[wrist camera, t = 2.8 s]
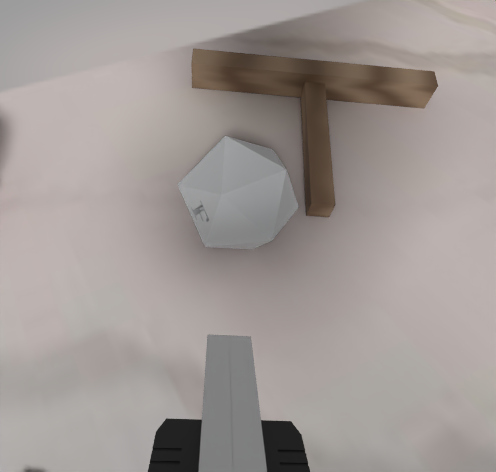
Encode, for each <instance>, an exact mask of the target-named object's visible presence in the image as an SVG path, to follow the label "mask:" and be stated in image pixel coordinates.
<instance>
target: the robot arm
mask: <svg viewBox="0 0 496 472" xmlns="http://www.w3.org/2000/svg"><path fill="white" fill-rule="evenodd" d="M148 472H310V469H309V466H308V461H307V457H306V453H305V448H304V444H303V440H302V436H301V434H300V433H299V431H298V430H297V429H296V427H295V426H294V425H293V423H292V422H291V421H263V420H261V417H260V409H259V401H258V392H257V384H256V376H255V368H254V359H253V351H252V343H251V337H249V336H227V335H208V337H207V352H206V367H205V382H204V397H203V412H202V420H193V419H166V420H165V421H164V422H163V424H162V425H161V426H160V428H159V429H158V430H157V431H156V435H155V440H154V445H153V451H152V454H151V459H150V464H149V469H148Z"/></svg>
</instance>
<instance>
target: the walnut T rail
mask: <svg viewBox="0 0 496 472" xmlns="http://www.w3.org/2000/svg"><path fill="white" fill-rule="evenodd" d="M437 87H438V84H437V80H436V76H435V72H433V71H423V70H412V69H402V68H391V67H381V66H370V65H360V64H349V63H339V62H328V61H318V60H307V59H297V58H286V57H276V56H265V55H255V54H244V53H234V52H223V51H213V50H202V49H193V55H192V88H201V89H213V90H224V91H235V92H246V93H258V94H269V95H280V96H291V97H301V113H302V135H303V156H304V178H305V199H306V216H320V217H329V216H330V214H331V212H332V210H333V208H334V206H335V196H334V184H333V173H332V161H331V149H330V137H329V125H328V114H327V102H326V100H336V101H348V102H359V103H370V104H382V105H393V106H404V107H415V108H425V106H426V104H427V103H428V101H429V100H430V98H431V96H432V95H433V93H434V92H435V90H436V88H437Z"/></svg>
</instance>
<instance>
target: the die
mask: <svg viewBox="0 0 496 472" xmlns="http://www.w3.org/2000/svg"><path fill="white" fill-rule="evenodd" d="M178 187H179V189H180V192H181V194H182V196H183V198H184V201H185V203H186V205H187V207H188V210H189V212H190V214H191V217H192V219H193V221H194V223H195V226H196V228H197V230H198V232H199V235H200V237H201V239H202V242H203V244H204V246H205V247H212V248H236V249H255V248H257V247H259V246H261V245H264V244H266V243H268V242H270V241H272V240H273V239H274V238H275V236H276V235H277V234H278V233H279V231H280V230H281V229H282V228H283V226H284V225H285V224H286V223H287V221H288V220H289V219H290V218H291V216H292V215H293V214H294V213H295V211H296V210H297V209H298V208H299V206H298V203H297V200H296V197H295V194H294V191H293V188H292V185H291V182H290V178H289V175H288V172H287V169H286V168H285V166H284V165H283V163H282V162H281V161H280V159H279V158H278V156H277V155H276V153H275V152H274V150H273V149H270V148H266V147H263V146H259V145H256V144H253V143H249V142H246V141H242V140H239V139H235V138H232V137H228V136H225V137H224V138H223V139H222V140H221V141H220V142H219V143H218V144H217V145H216V146H215V147H214V148H213V149H212V150H211V151H210V152H209V153H208V154H207V155H206V156H205V157H204V158H203V159H202V160H201V161H200V162H199V163H198V164H197V165H196V166H195V167H194V168H193V169H192V170H191V171H190V172H189V173H188V174H187V175H186V176H185V177H184V178H183V179H182V181H181V182H180V183H179V184H178Z"/></svg>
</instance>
